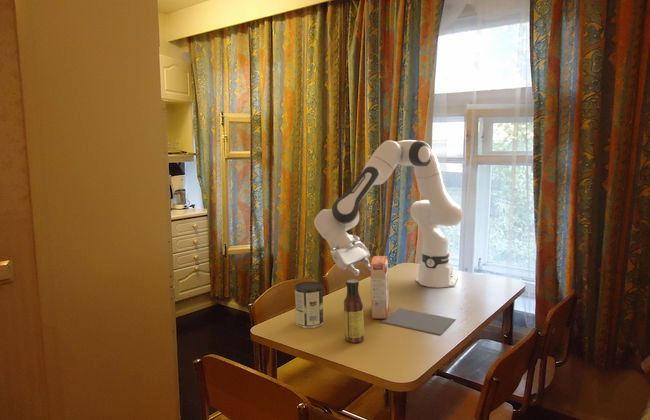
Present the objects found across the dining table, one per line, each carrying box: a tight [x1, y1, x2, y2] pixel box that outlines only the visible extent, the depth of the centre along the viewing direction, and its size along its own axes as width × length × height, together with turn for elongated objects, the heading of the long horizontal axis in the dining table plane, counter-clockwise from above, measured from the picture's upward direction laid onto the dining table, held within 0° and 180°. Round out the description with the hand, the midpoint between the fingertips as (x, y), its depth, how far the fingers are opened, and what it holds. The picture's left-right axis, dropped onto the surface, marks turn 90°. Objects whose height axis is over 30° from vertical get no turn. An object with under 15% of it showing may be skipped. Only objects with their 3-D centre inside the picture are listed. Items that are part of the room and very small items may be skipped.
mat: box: [380, 307, 456, 336], centre depth 157 cm, size 16×22×1 cm
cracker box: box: [369, 255, 390, 320], centre depth 164 cm, size 14×6×21 cm, turn 168°
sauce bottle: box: [343, 279, 365, 344], centre depth 141 cm, size 6×6×20 cm
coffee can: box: [294, 281, 325, 329], centre depth 156 cm, size 10×10×14 cm
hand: (364, 271), depth 167 cm, fingers open, 8 cm apart
